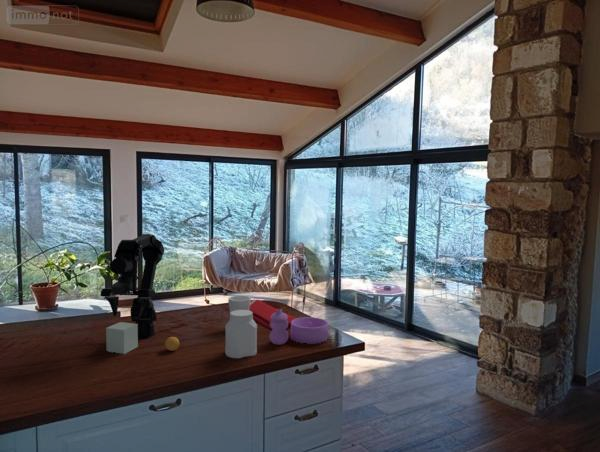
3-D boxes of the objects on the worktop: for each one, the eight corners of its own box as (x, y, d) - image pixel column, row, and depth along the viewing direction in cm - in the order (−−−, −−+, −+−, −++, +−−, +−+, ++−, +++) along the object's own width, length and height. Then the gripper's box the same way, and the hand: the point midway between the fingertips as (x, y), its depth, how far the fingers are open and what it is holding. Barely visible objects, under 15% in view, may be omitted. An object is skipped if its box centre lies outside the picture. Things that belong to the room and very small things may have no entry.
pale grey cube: (106, 351, 166) (106, 327, 165) (120, 344, 173) (120, 322, 172) (124, 353, 164) (123, 330, 163) (137, 346, 171) (137, 324, 170)
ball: (162, 351, 166) (162, 338, 166) (170, 347, 171) (170, 334, 171) (174, 353, 165) (174, 339, 164) (182, 348, 170) (181, 335, 169)
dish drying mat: (273, 332, 193) (273, 323, 192) (232, 309, 227) (232, 302, 227) (303, 326, 201) (304, 318, 201) (260, 305, 235) (260, 298, 235)
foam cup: (246, 332, 190) (246, 301, 189) (225, 330, 192) (225, 300, 191) (253, 325, 200) (253, 296, 199) (233, 323, 202) (233, 295, 200)
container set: (316, 330, 195) (317, 300, 194) (335, 341, 181) (335, 308, 180) (262, 338, 183) (262, 306, 182) (278, 350, 170) (278, 315, 169)
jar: (231, 359, 159) (231, 318, 158) (221, 351, 168) (221, 311, 166) (261, 354, 165) (261, 314, 164) (250, 346, 173) (250, 307, 172)
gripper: (92, 273, 160) (90, 318, 159) (142, 274, 158) (140, 320, 157) (109, 273, 172) (107, 314, 170) (156, 274, 169) (154, 316, 168)
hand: (127, 316), depth 166 cm, fingers open, 9 cm apart
